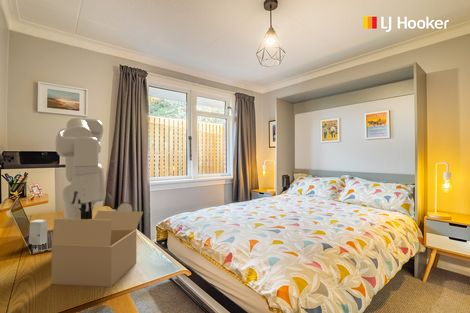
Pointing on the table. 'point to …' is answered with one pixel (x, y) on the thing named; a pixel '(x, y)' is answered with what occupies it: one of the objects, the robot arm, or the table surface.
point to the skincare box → (38, 232)
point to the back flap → (120, 219)
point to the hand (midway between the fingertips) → (86, 221)
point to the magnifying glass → (125, 207)
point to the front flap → (82, 232)
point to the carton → (94, 261)
